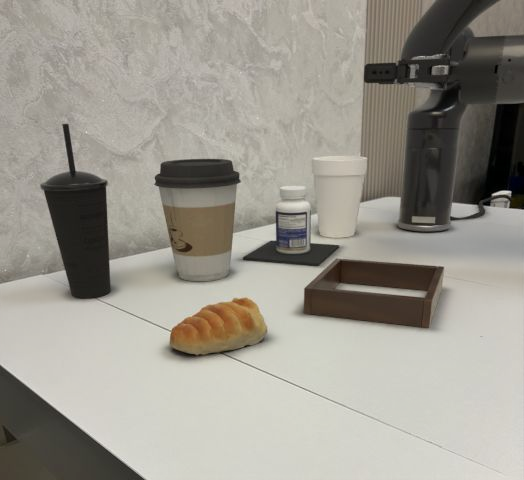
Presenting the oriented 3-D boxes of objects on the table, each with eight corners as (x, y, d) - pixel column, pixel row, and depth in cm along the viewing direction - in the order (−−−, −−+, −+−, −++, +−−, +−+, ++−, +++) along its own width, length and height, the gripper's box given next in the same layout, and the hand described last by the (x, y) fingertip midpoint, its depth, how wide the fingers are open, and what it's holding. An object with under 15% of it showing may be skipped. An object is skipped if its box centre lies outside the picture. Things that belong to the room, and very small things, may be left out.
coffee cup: (146, 275, 77) (134, 163, 71) (207, 259, 84) (200, 156, 78) (200, 291, 69) (191, 167, 63) (261, 272, 77) (258, 160, 71)
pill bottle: (286, 245, 90) (285, 184, 86) (315, 249, 87) (317, 185, 83) (269, 252, 86) (268, 188, 82) (300, 256, 83) (301, 190, 79)
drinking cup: (102, 280, 75) (80, 122, 67) (133, 291, 70) (112, 122, 62) (49, 293, 70) (18, 125, 62) (77, 306, 65) (47, 125, 57)
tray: (335, 280, 73) (336, 258, 72) (441, 289, 68) (444, 266, 67) (303, 313, 61) (304, 288, 60) (429, 328, 57) (432, 300, 55)
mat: (271, 242, 94) (270, 240, 94) (339, 247, 90) (339, 245, 90) (242, 259, 84) (242, 257, 84) (318, 266, 80) (318, 263, 79)
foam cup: (316, 227, 104) (318, 155, 99) (365, 229, 102) (369, 155, 97) (306, 238, 96) (307, 160, 91) (359, 240, 94) (363, 160, 89)
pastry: (193, 366, 49) (189, 327, 48) (156, 345, 54) (152, 308, 53) (273, 340, 55) (272, 303, 53) (233, 322, 59) (231, 288, 58)
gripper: (507, 40, 72) (383, 46, 77) (508, 29, 60) (361, 37, 65) (498, 103, 75) (379, 104, 80) (497, 104, 63) (357, 106, 68)
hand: (371, 74), depth 73 cm, fingers open, 8 cm apart
